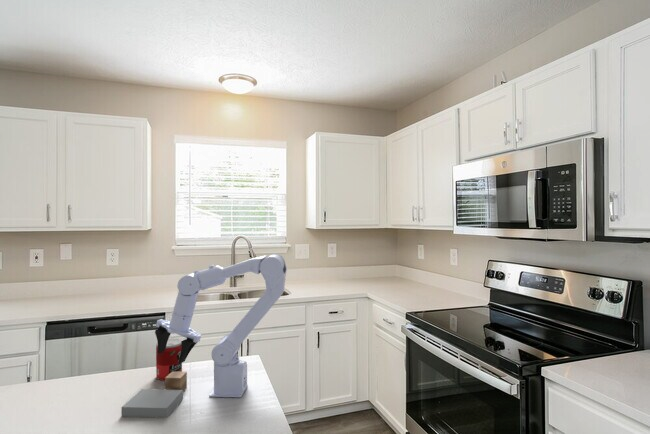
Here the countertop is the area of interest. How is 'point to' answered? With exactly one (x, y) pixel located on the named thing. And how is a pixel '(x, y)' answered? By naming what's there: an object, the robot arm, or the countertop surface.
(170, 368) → the canned food
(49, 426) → the countertop surface
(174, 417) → the countertop surface
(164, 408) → the slate base
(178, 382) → the light brown rectangular block
